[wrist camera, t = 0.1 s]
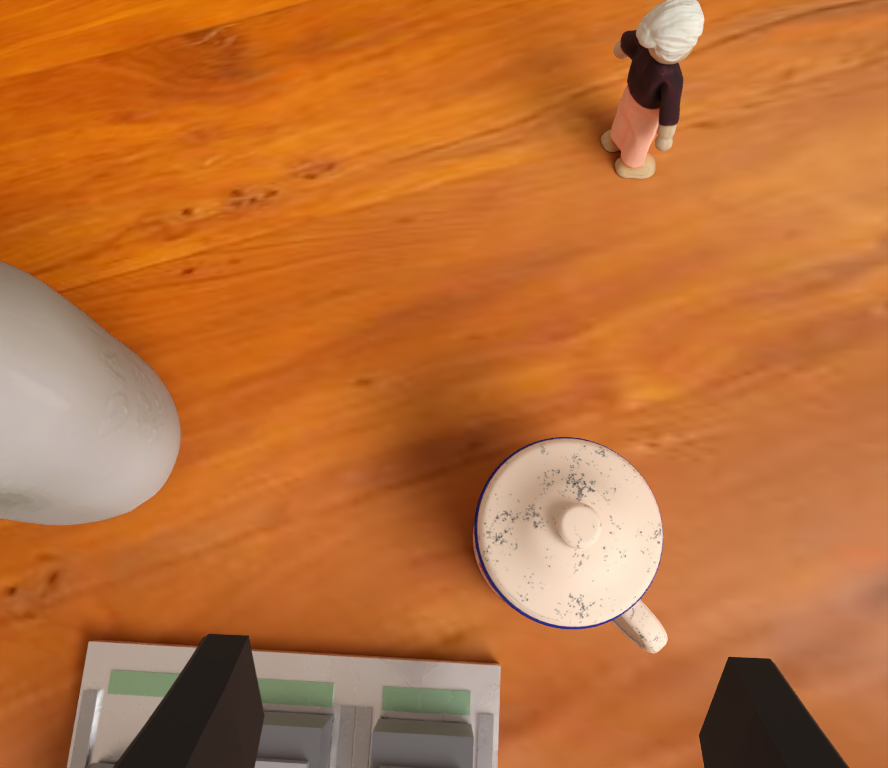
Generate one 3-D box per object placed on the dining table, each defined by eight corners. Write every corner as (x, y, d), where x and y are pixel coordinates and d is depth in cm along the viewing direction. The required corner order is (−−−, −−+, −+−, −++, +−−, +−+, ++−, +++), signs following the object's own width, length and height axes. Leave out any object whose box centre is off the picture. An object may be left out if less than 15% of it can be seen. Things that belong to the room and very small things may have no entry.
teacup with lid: (437, 531, 43) (434, 514, 32) (548, 433, 45) (583, 384, 34) (576, 695, 41) (626, 739, 30) (688, 585, 42) (777, 587, 31)
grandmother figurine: (679, 176, 49) (757, 43, 37) (633, 202, 49) (695, 76, 37) (616, 93, 51) (670, -61, 39) (571, 116, 51) (611, -31, 38)
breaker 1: (325, 797, 38) (311, 823, 34) (230, 792, 38) (206, 816, 34) (332, 715, 39) (320, 730, 35) (240, 710, 39) (217, 724, 35)
